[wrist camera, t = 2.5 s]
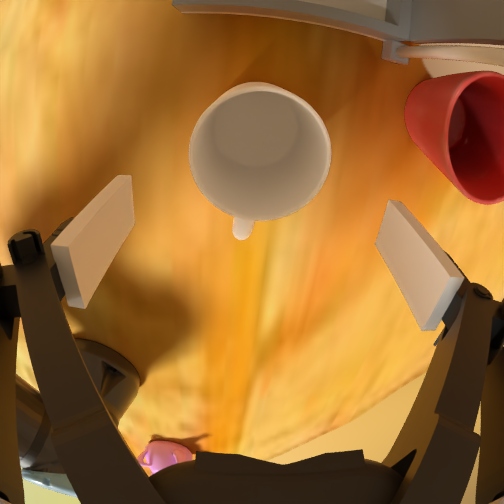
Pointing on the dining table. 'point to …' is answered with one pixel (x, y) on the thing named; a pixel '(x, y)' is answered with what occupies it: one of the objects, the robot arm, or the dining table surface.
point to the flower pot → (462, 130)
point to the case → (388, 23)
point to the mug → (259, 154)
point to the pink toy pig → (163, 455)
